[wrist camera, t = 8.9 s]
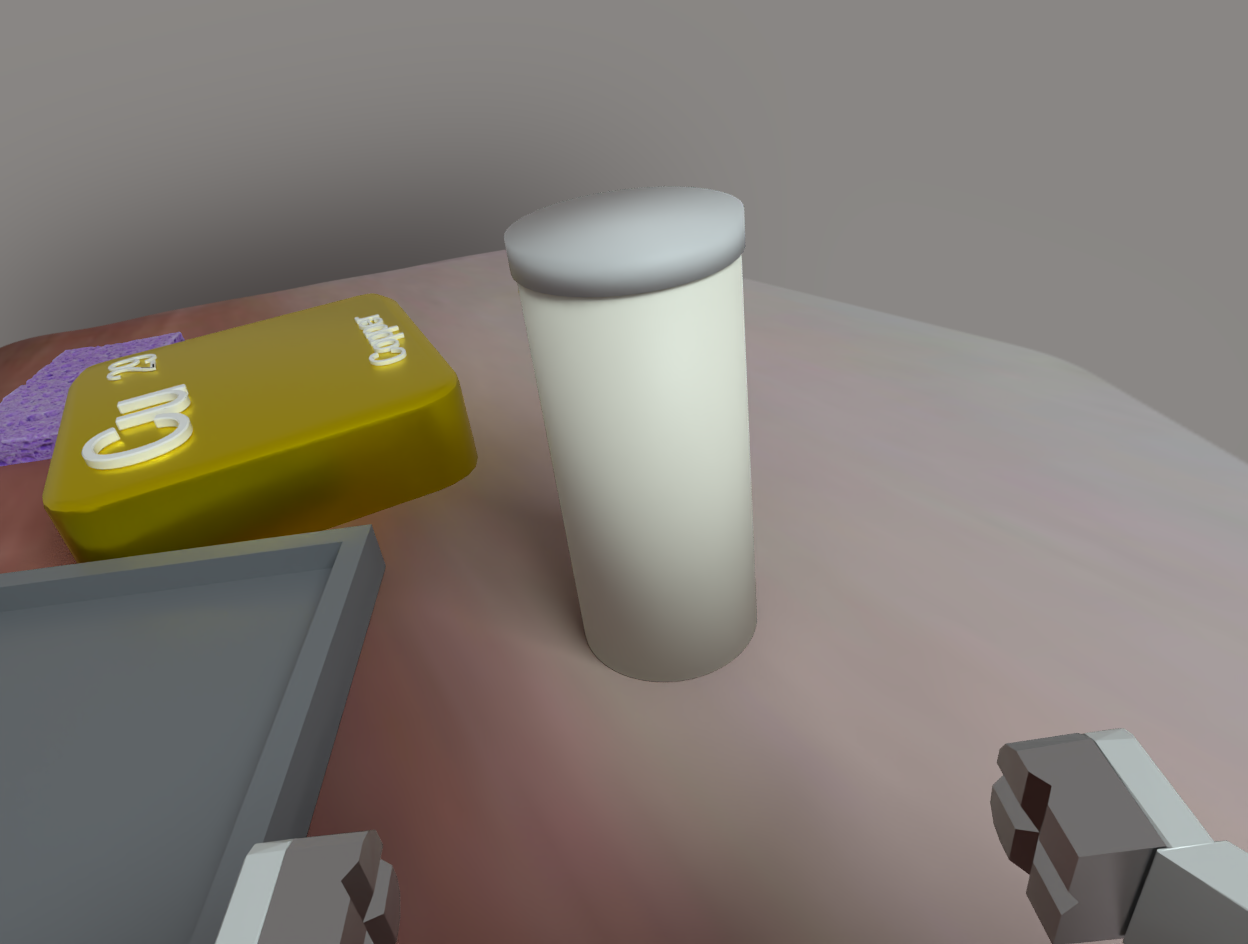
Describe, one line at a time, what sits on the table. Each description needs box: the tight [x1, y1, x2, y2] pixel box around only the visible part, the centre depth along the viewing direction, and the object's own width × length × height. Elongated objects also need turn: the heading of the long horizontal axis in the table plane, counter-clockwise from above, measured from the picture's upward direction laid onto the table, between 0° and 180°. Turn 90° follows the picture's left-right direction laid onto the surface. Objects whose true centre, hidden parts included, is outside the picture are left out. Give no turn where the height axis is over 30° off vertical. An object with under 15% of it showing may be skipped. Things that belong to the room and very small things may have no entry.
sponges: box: [0, 332, 185, 466], centre depth 44 cm, size 7×13×2 cm, turn 5°
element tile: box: [42, 294, 478, 564], centre depth 36 cm, size 15×15×5 cm
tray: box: [0, 524, 386, 944], centre depth 22 cm, size 15×15×2 cm
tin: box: [504, 186, 757, 682], centre depth 22 cm, size 5×5×12 cm
